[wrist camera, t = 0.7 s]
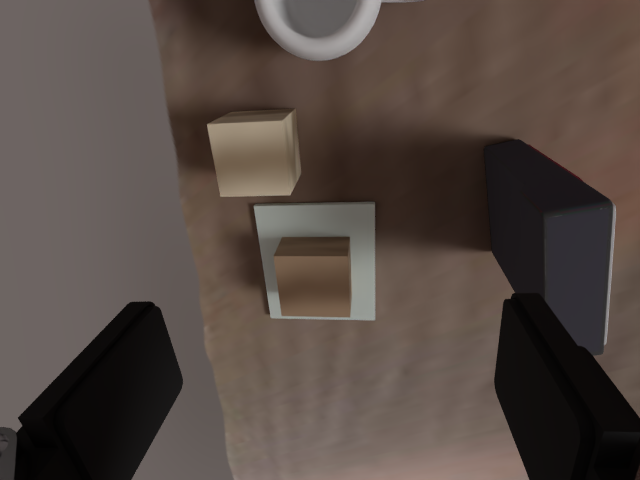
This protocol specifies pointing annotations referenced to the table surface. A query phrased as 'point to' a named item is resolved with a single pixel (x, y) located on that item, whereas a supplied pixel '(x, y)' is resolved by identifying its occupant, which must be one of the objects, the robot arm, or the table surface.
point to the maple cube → (256, 152)
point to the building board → (322, 223)
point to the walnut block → (314, 276)
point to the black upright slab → (552, 237)
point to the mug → (319, 25)
